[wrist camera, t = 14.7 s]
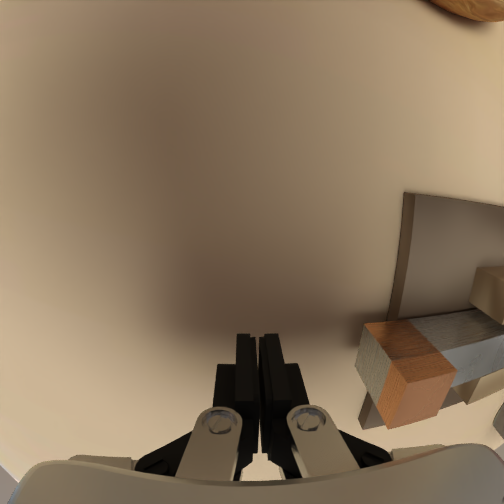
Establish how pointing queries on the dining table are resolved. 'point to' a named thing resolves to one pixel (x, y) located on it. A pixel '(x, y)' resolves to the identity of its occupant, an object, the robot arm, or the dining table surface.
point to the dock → (448, 276)
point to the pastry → (474, 9)
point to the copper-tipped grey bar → (426, 361)
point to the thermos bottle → (499, 421)
